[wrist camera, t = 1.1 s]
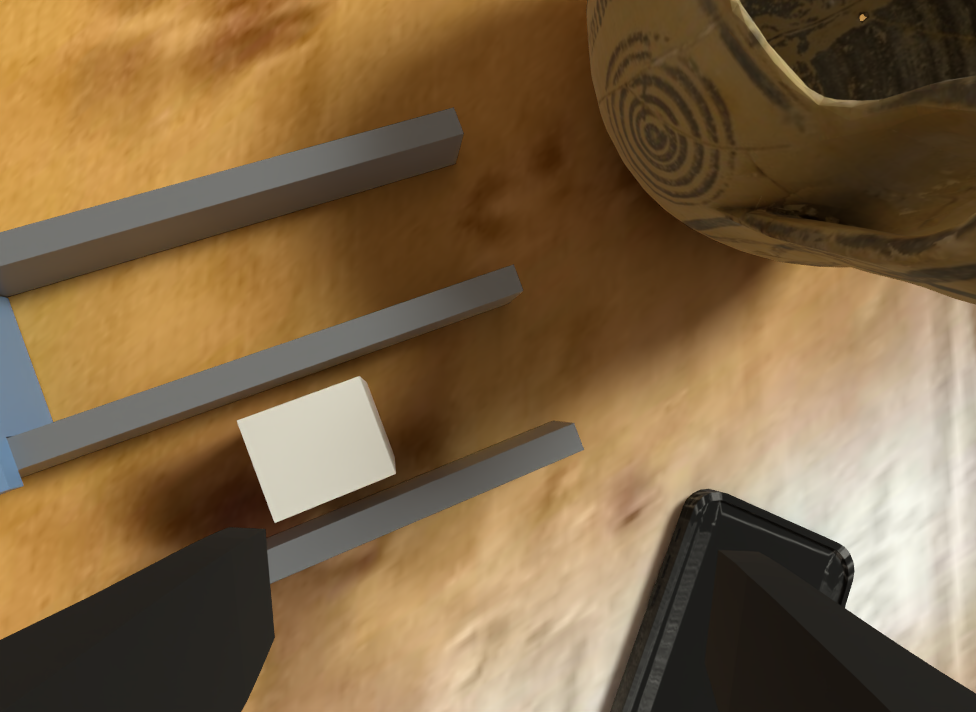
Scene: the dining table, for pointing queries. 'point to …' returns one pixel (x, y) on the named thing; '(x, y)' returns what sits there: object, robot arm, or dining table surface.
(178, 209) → the metal rails
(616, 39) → the ceramic bowl
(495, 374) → the dining table surface
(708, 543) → the black tray
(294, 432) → the cream rectangular box
